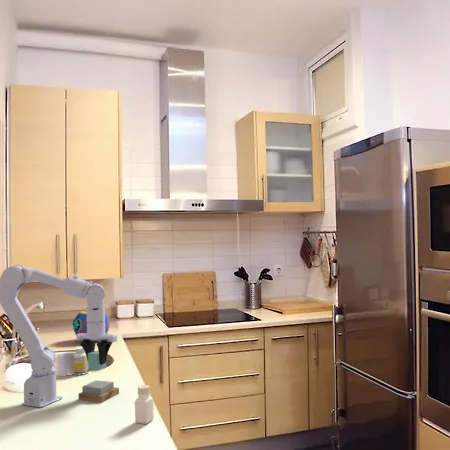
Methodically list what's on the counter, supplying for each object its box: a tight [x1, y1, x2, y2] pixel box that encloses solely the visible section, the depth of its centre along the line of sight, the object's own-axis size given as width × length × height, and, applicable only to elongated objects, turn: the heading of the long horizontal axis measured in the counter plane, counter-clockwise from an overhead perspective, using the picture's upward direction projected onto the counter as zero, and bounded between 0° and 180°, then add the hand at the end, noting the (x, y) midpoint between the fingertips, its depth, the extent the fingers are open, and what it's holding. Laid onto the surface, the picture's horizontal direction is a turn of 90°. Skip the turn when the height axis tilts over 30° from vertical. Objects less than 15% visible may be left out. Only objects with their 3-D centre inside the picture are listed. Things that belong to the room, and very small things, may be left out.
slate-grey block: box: [81, 380, 115, 395], centre depth 157 cm, size 7×7×2 cm
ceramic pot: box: [72, 310, 110, 336], centre depth 246 cm, size 18×18×15 cm
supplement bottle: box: [73, 346, 90, 376], centre depth 185 cm, size 5×5×10 cm
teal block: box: [88, 350, 107, 371], centre depth 158 cm, size 4×4×5 cm
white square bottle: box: [134, 384, 155, 425], centre depth 134 cm, size 4×4×10 cm
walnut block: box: [78, 386, 120, 403], centre depth 157 cm, size 9×9×2 cm
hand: (96, 363), depth 158 cm, fingers closed on teal block, 4 cm apart
